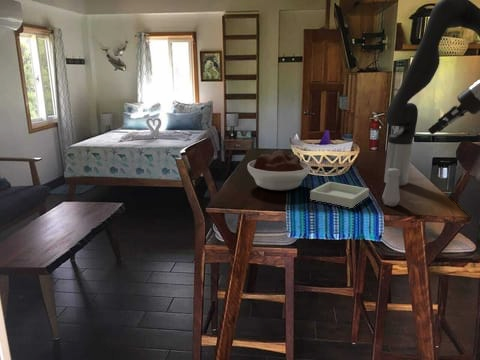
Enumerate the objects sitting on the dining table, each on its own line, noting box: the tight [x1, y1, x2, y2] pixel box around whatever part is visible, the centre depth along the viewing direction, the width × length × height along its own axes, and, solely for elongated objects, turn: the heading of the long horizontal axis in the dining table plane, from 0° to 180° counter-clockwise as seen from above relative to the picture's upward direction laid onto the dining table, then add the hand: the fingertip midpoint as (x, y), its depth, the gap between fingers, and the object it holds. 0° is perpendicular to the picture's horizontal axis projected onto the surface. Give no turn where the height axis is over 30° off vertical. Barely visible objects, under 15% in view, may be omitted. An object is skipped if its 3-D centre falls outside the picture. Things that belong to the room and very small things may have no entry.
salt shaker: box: [381, 168, 401, 207], centre depth 142 cm, size 6×6×13 cm
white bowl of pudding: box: [246, 149, 311, 191], centre depth 162 cm, size 25×25×15 cm
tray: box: [309, 181, 370, 209], centre depth 149 cm, size 16×16×4 cm
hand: (433, 130), depth 130 cm, fingers open, 8 cm apart
